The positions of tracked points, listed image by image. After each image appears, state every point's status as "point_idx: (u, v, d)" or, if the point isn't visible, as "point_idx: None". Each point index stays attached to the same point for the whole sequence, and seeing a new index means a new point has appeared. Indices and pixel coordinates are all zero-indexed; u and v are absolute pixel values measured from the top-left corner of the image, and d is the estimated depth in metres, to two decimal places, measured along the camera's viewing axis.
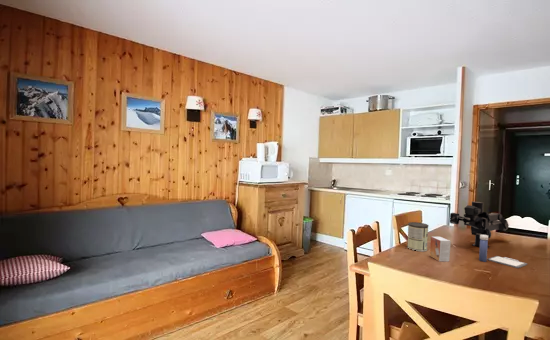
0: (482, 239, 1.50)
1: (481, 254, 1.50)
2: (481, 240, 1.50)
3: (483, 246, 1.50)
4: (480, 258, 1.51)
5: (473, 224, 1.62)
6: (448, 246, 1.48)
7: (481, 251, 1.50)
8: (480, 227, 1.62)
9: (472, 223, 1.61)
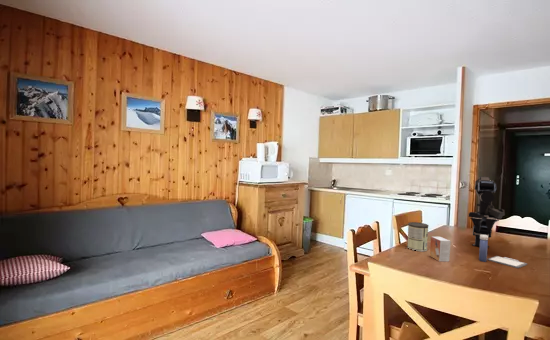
0: (482, 239, 1.50)
1: (481, 254, 1.50)
2: (481, 240, 1.50)
3: (483, 246, 1.50)
4: (480, 258, 1.51)
5: None
6: (448, 246, 1.48)
7: (481, 251, 1.50)
8: None
9: None
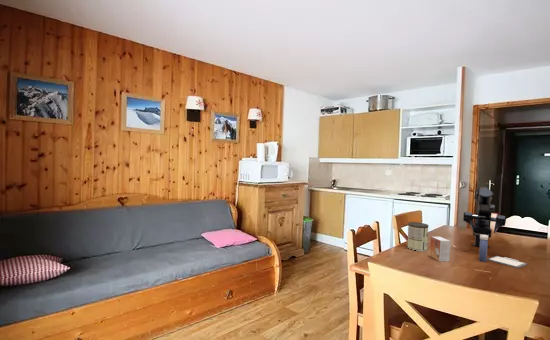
0: (482, 239, 1.50)
1: (481, 254, 1.50)
2: (481, 240, 1.50)
3: (483, 246, 1.50)
4: (480, 258, 1.51)
5: (496, 229, 1.56)
6: (448, 246, 1.48)
7: (481, 251, 1.50)
8: (500, 225, 1.58)
9: (496, 229, 1.55)
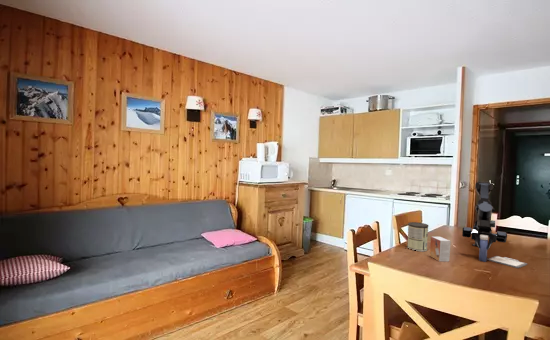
0: (482, 239, 1.50)
1: (481, 254, 1.50)
2: (481, 240, 1.50)
3: (483, 246, 1.50)
4: (480, 258, 1.51)
5: (490, 245, 1.50)
6: (448, 246, 1.48)
7: (481, 251, 1.50)
8: (494, 241, 1.52)
9: (489, 246, 1.49)
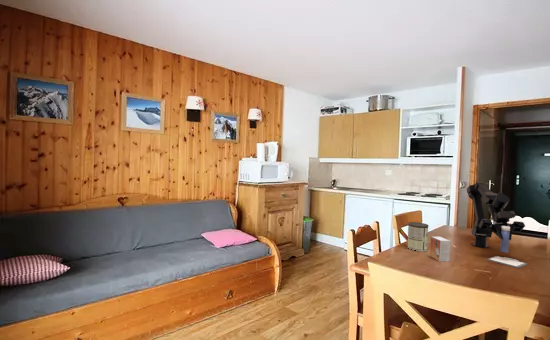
0: (505, 230, 1.50)
1: (504, 245, 1.50)
2: (504, 231, 1.50)
3: (506, 237, 1.50)
4: (503, 249, 1.51)
5: None
6: (448, 246, 1.48)
7: (504, 242, 1.50)
8: None
9: None
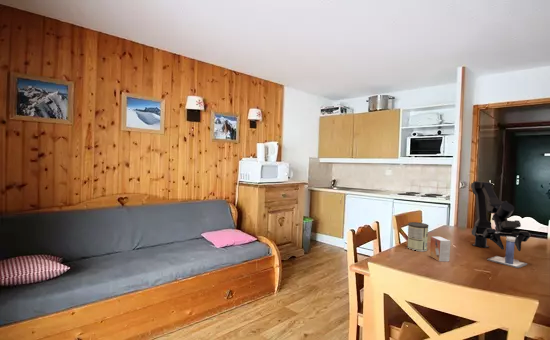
0: (510, 241, 1.45)
1: (509, 256, 1.45)
2: (509, 242, 1.46)
3: (511, 248, 1.45)
4: (508, 261, 1.46)
5: None
6: (448, 246, 1.48)
7: (509, 253, 1.45)
8: None
9: None
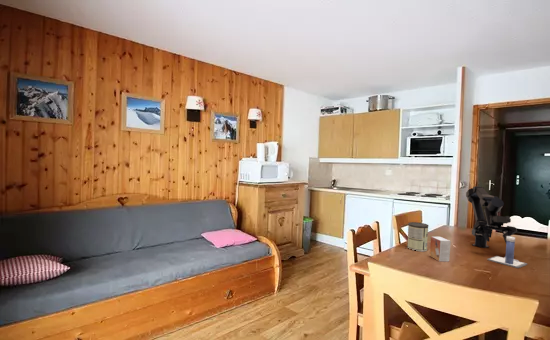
0: (510, 241, 1.45)
1: (509, 256, 1.45)
2: (509, 242, 1.45)
3: (511, 248, 1.45)
4: (508, 261, 1.46)
5: None
6: (448, 246, 1.48)
7: (509, 253, 1.45)
8: None
9: None
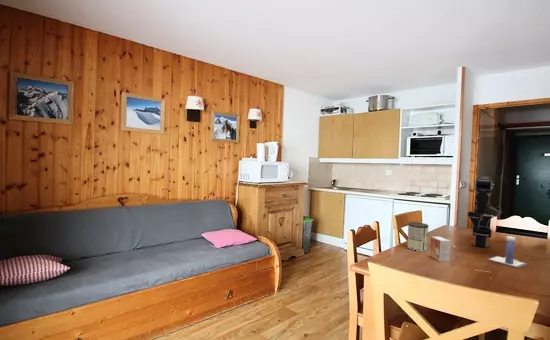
0: (510, 241, 1.45)
1: (509, 256, 1.45)
2: (509, 242, 1.45)
3: (511, 248, 1.45)
4: (508, 261, 1.46)
5: None
6: (448, 246, 1.48)
7: (509, 253, 1.45)
8: None
9: None
